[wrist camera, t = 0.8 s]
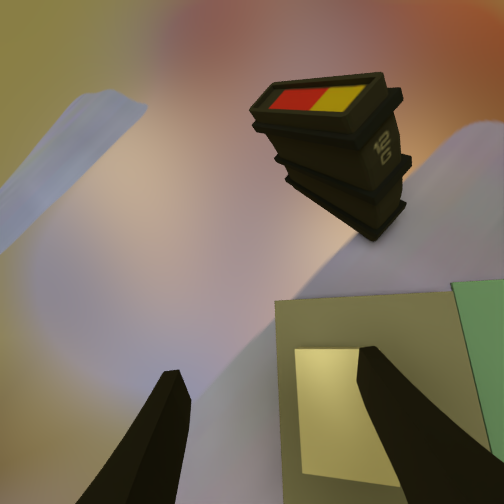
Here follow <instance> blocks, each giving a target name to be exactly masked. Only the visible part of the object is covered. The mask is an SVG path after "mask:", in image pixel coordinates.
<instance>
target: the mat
mask: <svg viewBox="0 0 504 504" xmlns="http://www.w3.org/2000/svg"><path fill="white" fill-rule="evenodd" d="M450 284H451V288H452V291H453V294H454V298H455V302H456V306H457V311H458V315H459V319H460V323H461V328H462V332H463V336H464V340H465V345H466V349H467V353H468V357H469V362H470V366H471V370H472V374H473V379H474V383H475V387H476V391H477V396H478V400H479V404H480V408H481V413H482V417H483V421H484V425H485V430H486V434H487V438H488V443H489V447H490V451H491V453H492V454H493V455H495V456H496V457H497V458H498V459H500V460H501V461H502V462H504V279H502V280H486V281H470V282H453V283H450Z"/></svg>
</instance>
